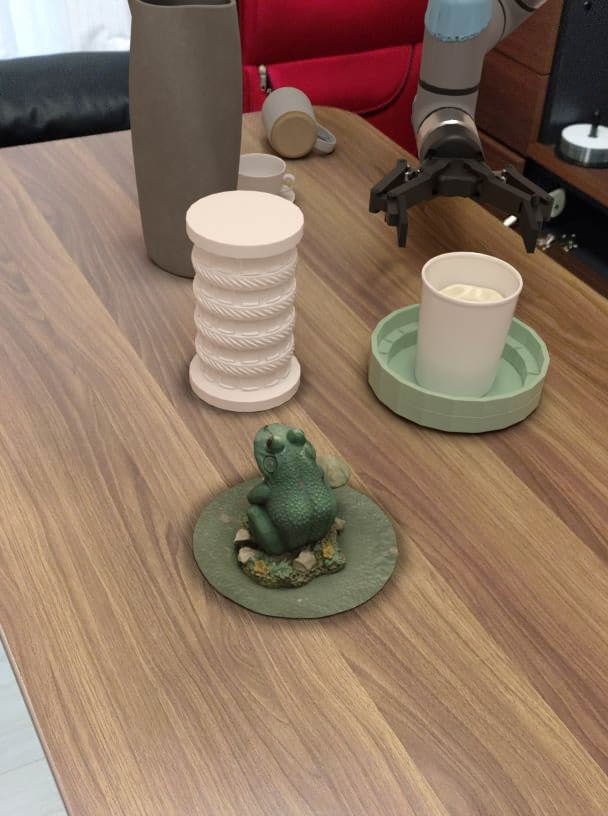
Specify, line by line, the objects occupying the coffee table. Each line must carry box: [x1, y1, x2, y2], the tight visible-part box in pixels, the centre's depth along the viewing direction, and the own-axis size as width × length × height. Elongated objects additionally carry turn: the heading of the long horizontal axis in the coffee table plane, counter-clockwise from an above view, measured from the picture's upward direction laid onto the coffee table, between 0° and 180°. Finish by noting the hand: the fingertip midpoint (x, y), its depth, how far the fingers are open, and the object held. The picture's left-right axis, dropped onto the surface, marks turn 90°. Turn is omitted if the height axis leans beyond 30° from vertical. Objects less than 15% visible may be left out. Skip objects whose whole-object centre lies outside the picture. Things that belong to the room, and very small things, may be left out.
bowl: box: [367, 302, 551, 434], centre depth 102 cm, size 18×18×4 cm
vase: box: [127, 0, 244, 279], centre depth 109 cm, size 12×12×30 cm
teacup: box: [237, 152, 296, 204], centre depth 130 cm, size 10×10×5 cm
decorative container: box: [186, 190, 305, 413], centre depth 96 cm, size 12×12×18 cm
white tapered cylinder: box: [415, 251, 524, 398], centre depth 98 cm, size 10×10×12 cm
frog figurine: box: [192, 422, 399, 619], centre depth 81 cm, size 18×18×12 cm
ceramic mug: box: [260, 86, 337, 159], centre depth 141 cm, size 11×8×8 cm
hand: (468, 238), depth 102 cm, fingers open, 13 cm apart
